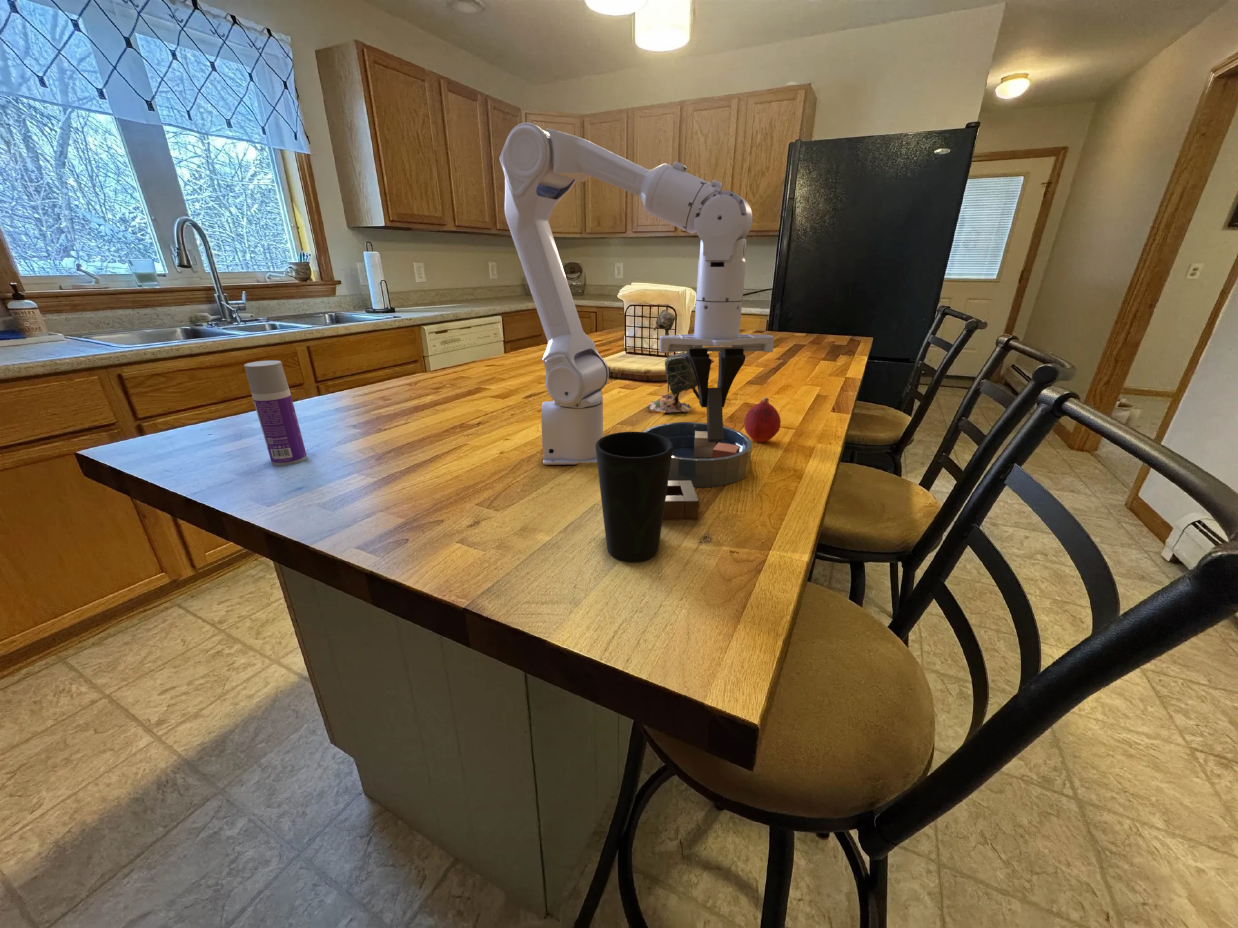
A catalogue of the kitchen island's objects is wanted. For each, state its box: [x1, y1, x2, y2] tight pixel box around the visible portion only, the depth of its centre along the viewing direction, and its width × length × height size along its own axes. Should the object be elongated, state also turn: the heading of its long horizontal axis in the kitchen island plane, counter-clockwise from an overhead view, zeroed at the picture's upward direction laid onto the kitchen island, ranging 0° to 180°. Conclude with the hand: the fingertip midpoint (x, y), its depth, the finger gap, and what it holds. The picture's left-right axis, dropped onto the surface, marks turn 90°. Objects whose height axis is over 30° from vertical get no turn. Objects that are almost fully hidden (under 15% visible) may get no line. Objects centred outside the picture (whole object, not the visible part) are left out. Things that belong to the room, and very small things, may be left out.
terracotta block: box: [712, 443, 740, 458], centre depth 71 cm, size 3×3×3 cm
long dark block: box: [705, 387, 724, 442], centre depth 65 cm, size 2×2×7 cm
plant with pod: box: [646, 309, 699, 414], centre depth 97 cm, size 8×11×20 cm
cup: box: [595, 431, 673, 563], centre depth 51 cm, size 8×8×12 cm
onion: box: [743, 396, 782, 444], centre depth 82 cm, size 6×6×8 cm
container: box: [244, 359, 308, 467], centre depth 73 cm, size 5×5×15 cm
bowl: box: [642, 421, 753, 488], centre depth 73 cm, size 16×16×4 cm
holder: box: [663, 480, 700, 521], centre depth 60 cm, size 6×6×3 cm
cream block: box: [694, 431, 716, 458], centre depth 77 cm, size 3×3×3 cm
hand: (711, 405), depth 67 cm, fingers closed on long dark block, 2 cm apart
